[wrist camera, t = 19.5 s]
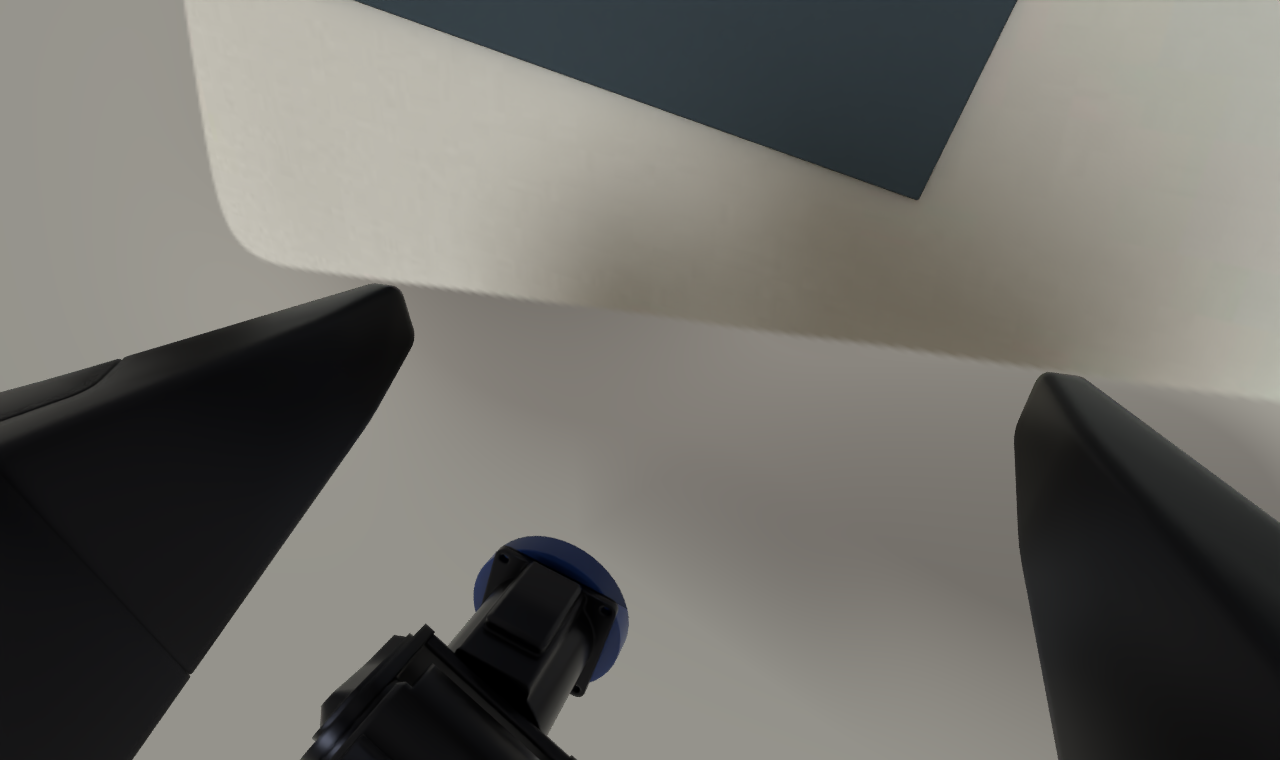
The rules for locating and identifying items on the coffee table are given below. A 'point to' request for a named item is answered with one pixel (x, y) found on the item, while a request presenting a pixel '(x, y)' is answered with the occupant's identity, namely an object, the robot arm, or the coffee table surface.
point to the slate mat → (762, 66)
